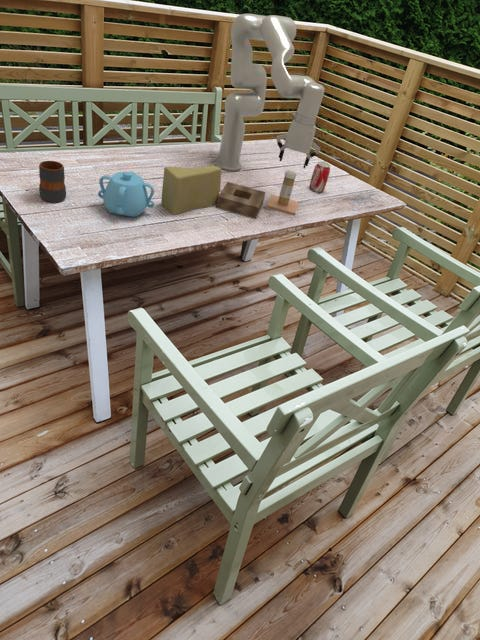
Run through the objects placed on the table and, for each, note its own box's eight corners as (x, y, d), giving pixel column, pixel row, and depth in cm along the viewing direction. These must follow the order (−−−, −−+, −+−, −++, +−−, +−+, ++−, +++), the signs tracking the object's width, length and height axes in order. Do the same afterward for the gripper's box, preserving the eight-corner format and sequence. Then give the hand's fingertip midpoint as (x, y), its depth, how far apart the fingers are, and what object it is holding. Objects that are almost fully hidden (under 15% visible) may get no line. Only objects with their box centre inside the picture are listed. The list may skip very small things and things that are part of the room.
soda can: (323, 194, 218) (331, 169, 211) (307, 190, 218) (315, 164, 211) (324, 189, 224) (332, 163, 216) (309, 185, 224) (316, 159, 217)
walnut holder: (216, 207, 187) (218, 196, 184) (225, 192, 200) (227, 181, 197) (256, 218, 186) (258, 207, 184) (263, 202, 199) (265, 192, 196)
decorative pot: (94, 201, 172) (94, 164, 164) (135, 196, 181) (137, 161, 173) (114, 223, 163) (115, 185, 154) (156, 217, 172) (160, 181, 163)
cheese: (209, 198, 192) (216, 161, 183) (223, 209, 187) (230, 172, 178) (159, 203, 181) (163, 164, 171) (171, 216, 175) (176, 176, 166)
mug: (57, 187, 175) (56, 155, 168) (70, 202, 168) (69, 169, 161) (32, 189, 170) (30, 156, 163) (44, 204, 164) (42, 171, 156)
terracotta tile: (266, 207, 196) (266, 205, 195) (270, 196, 205) (271, 194, 205) (294, 215, 195) (295, 213, 194) (298, 204, 205) (298, 201, 204)
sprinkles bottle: (284, 200, 202) (293, 169, 194) (290, 205, 199) (298, 174, 191) (275, 200, 200) (283, 169, 192) (280, 206, 197) (289, 174, 189)
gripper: (281, 115, 176) (269, 160, 187) (327, 128, 176) (312, 173, 187) (284, 110, 182) (272, 154, 193) (328, 123, 182) (314, 166, 192)
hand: (292, 163), depth 190 cm, fingers open, 9 cm apart
